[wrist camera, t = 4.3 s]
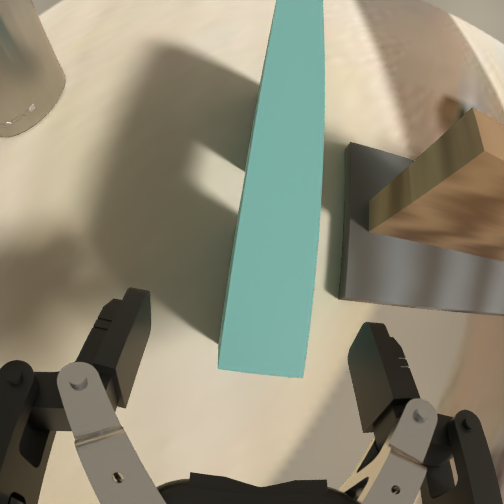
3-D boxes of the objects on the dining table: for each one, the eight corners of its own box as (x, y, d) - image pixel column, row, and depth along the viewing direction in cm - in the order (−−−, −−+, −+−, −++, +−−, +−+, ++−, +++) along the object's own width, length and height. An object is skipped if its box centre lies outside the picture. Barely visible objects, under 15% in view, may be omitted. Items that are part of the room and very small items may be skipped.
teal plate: (255, 349, 20) (303, 378, 8) (218, 344, 20) (217, 368, 8) (285, 98, 25) (321, -16, 13) (258, 93, 25) (281, -25, 13)
